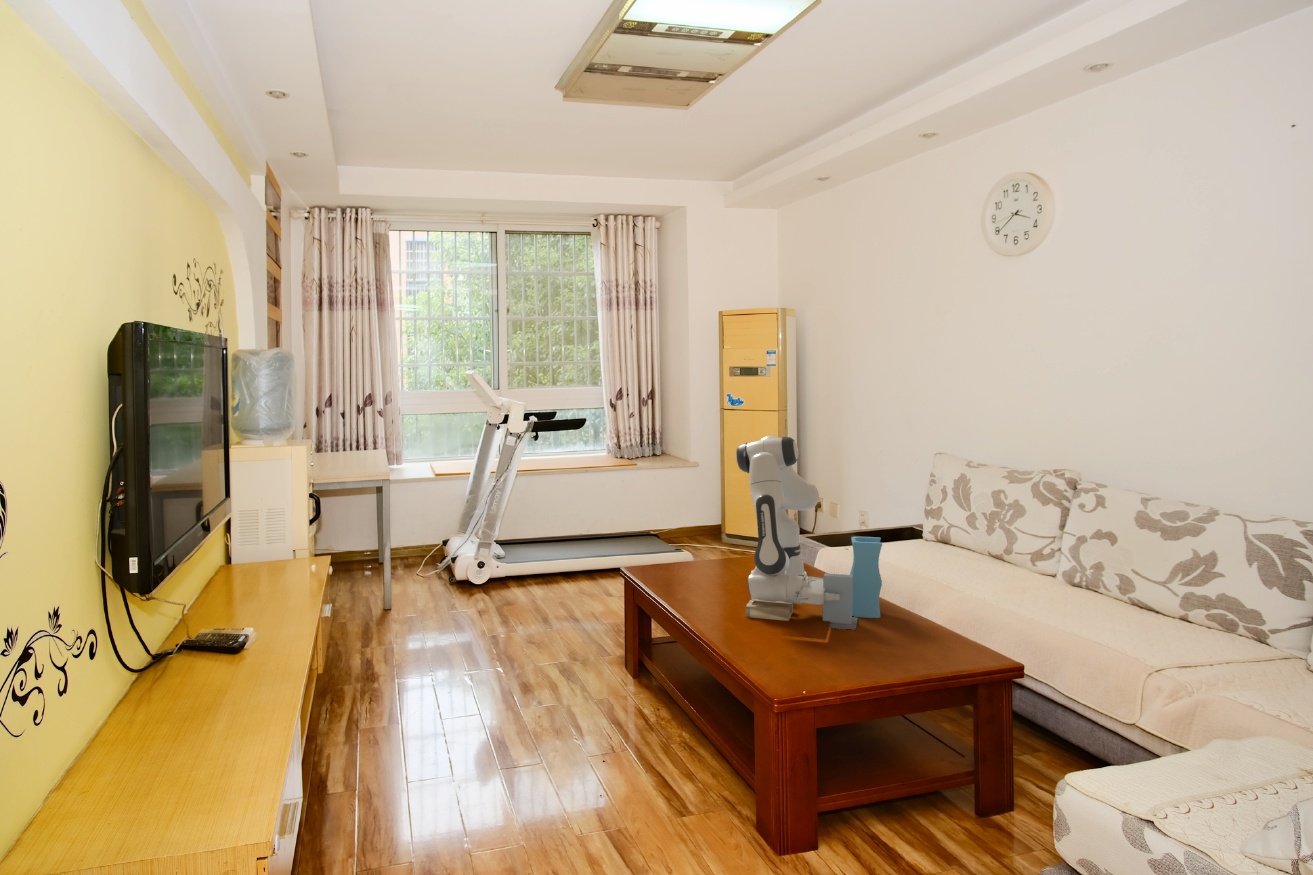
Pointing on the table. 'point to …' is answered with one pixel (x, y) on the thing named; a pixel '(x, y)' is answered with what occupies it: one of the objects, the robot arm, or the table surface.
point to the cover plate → (843, 607)
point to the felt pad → (845, 625)
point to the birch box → (769, 609)
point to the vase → (866, 577)
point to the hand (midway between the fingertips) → (840, 592)
